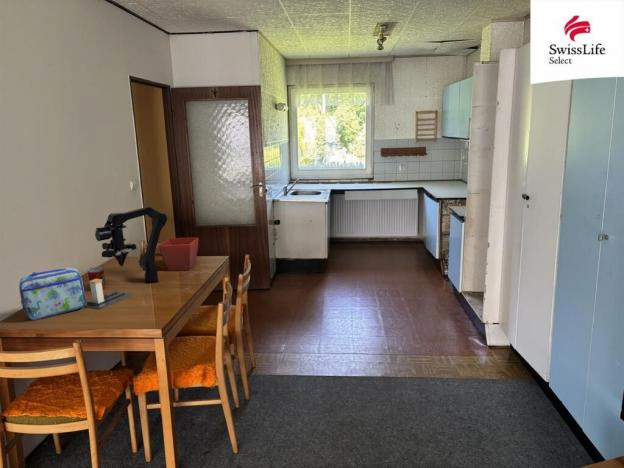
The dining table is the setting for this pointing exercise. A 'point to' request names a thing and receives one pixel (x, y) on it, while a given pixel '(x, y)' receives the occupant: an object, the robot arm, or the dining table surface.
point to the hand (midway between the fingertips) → (121, 266)
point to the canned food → (97, 275)
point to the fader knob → (97, 290)
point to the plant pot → (179, 253)
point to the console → (108, 300)
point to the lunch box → (51, 292)
